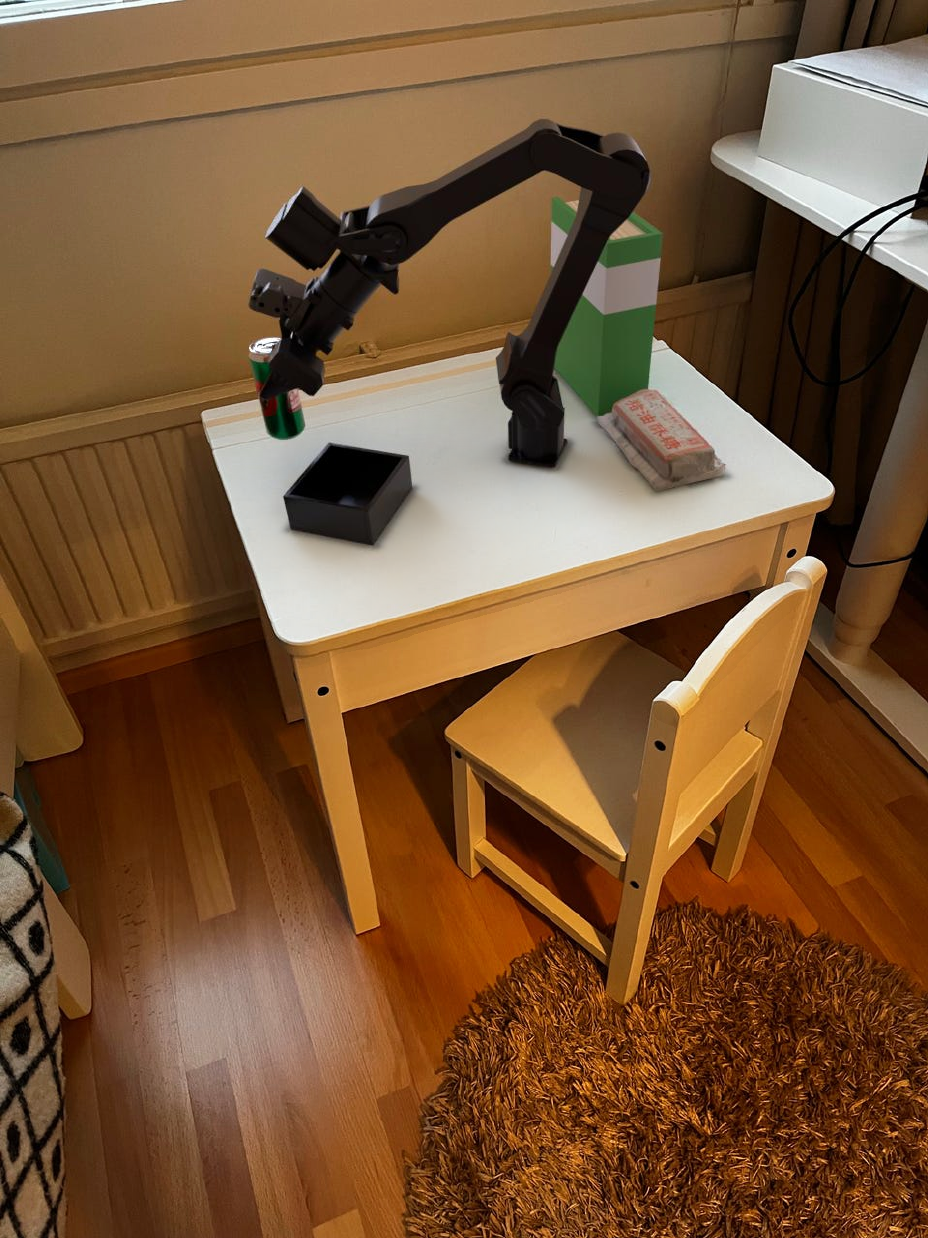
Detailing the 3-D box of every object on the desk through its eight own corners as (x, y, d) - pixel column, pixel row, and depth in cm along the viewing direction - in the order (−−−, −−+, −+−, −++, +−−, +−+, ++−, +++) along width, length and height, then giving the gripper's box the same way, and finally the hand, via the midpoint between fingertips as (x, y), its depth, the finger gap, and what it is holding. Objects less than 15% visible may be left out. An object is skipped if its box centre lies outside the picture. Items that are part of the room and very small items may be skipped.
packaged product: (732, 444, 112) (658, 461, 110) (727, 477, 115) (655, 494, 113) (665, 377, 124) (597, 391, 123) (661, 408, 128) (595, 423, 126)
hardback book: (549, 361, 139) (551, 197, 123) (593, 352, 141) (602, 188, 124) (598, 417, 127) (607, 243, 110) (646, 406, 128) (663, 233, 112)
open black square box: (412, 488, 117) (409, 455, 113) (373, 546, 109) (368, 512, 105) (334, 474, 120) (328, 442, 117) (290, 529, 112) (282, 496, 108)
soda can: (303, 441, 116) (284, 353, 108) (264, 442, 116) (242, 355, 108) (308, 420, 120) (291, 334, 112) (270, 421, 120) (250, 336, 112)
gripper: (290, 217, 109) (221, 313, 117) (270, 282, 95) (193, 385, 103) (365, 277, 114) (294, 365, 122) (356, 347, 100) (277, 440, 108)
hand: (265, 386), depth 114 cm, fingers closed on soda can, 5 cm apart
